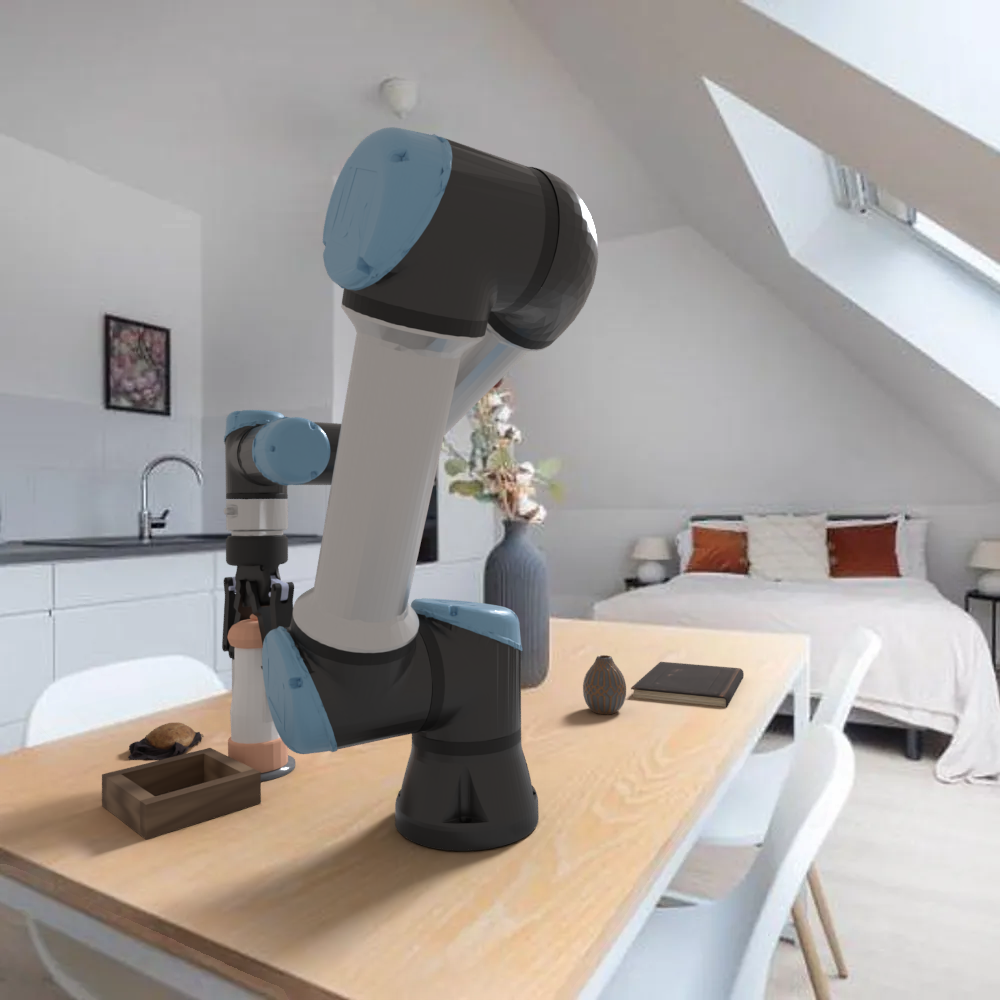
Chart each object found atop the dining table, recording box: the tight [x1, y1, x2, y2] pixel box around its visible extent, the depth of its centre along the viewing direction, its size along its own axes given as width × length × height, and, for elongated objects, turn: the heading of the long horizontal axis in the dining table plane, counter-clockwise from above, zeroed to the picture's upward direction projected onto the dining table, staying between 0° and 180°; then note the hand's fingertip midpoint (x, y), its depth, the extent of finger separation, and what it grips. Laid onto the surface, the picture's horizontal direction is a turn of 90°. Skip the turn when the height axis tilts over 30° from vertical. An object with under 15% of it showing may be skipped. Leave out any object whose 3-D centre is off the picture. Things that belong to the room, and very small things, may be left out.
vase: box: [582, 654, 627, 715], centre depth 121 cm, size 7×7×9 cm
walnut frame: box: [101, 747, 262, 840], centre depth 84 cm, size 12×12×4 cm
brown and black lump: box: [127, 722, 205, 761], centre depth 104 cm, size 11×8×4 cm
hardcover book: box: [630, 661, 745, 708], centre depth 136 cm, size 16×23×2 cm
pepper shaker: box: [227, 614, 289, 773], centre depth 95 cm, size 7×7×19 cm
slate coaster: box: [261, 754, 296, 782], centre depth 95 cm, size 9×9×1 cm
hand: (258, 713), depth 95 cm, fingers open, 7 cm apart
